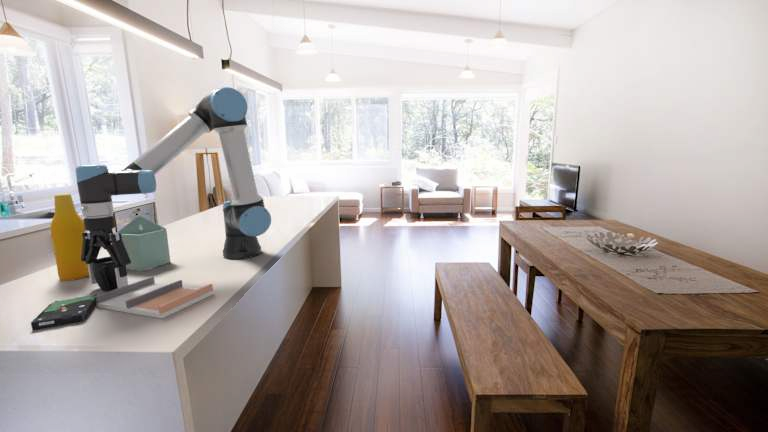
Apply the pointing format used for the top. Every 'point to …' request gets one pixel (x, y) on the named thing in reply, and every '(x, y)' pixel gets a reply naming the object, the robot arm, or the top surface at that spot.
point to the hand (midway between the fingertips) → (109, 284)
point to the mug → (105, 273)
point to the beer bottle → (68, 239)
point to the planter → (145, 244)
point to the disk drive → (65, 312)
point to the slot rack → (152, 298)
